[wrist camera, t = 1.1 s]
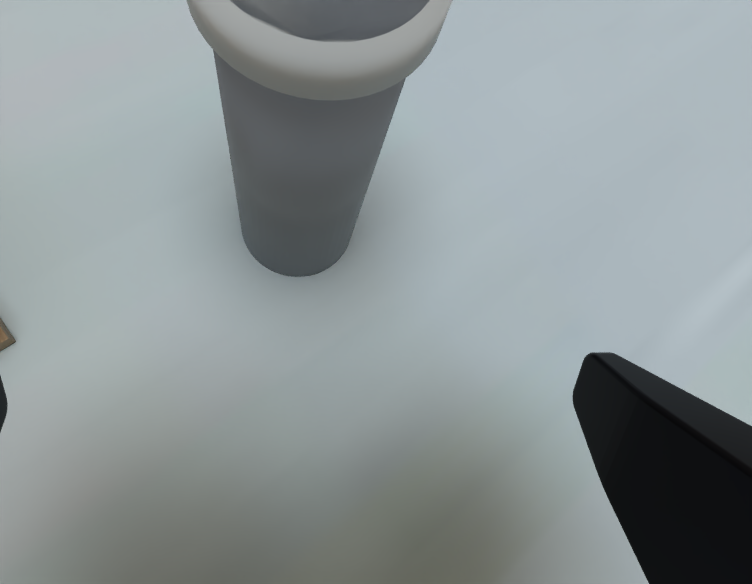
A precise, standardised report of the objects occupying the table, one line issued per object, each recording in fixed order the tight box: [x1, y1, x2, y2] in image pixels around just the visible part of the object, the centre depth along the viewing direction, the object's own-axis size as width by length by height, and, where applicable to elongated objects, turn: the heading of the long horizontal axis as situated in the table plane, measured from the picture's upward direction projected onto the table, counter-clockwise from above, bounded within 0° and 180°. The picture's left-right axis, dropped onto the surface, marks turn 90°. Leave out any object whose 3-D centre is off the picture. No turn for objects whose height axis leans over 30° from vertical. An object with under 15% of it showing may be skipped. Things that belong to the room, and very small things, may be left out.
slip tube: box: [187, 0, 452, 277], centre depth 17 cm, size 5×5×14 cm
